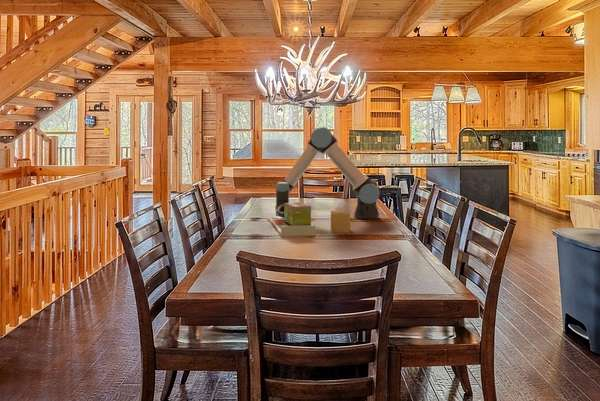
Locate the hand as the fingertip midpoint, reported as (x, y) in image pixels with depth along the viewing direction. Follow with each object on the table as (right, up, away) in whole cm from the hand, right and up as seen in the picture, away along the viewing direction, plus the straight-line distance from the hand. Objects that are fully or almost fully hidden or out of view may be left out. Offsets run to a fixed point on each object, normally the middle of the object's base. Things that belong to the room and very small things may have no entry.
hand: (292, 217), depth 272 cm
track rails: (-3, -5, +16) cm, 17 cm away
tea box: (+3, -8, -6) cm, 10 cm away
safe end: (+2, -8, -10) cm, 12 cm away
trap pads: (-5, -3, +27) cm, 27 cm away
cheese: (+25, -7, -2) cm, 26 cm away
